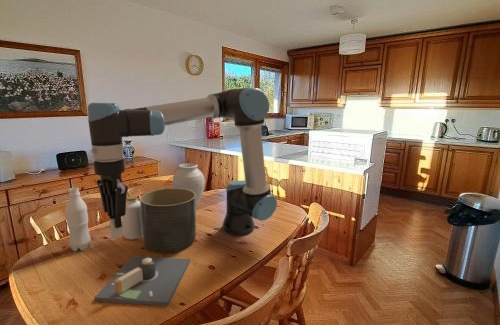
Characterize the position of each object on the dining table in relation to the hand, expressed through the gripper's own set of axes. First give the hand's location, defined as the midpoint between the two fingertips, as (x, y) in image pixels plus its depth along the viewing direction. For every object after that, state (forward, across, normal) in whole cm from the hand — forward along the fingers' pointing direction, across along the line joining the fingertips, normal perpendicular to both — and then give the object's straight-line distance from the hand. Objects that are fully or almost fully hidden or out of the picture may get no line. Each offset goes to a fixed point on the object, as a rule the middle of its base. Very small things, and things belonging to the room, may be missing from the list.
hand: (117, 236), depth 77 cm
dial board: (+18, +2, +8) cm, 20 cm away
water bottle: (+18, -36, +3) cm, 41 cm away
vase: (+19, -36, +59) cm, 72 cm away
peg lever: (+17, +2, +4) cm, 17 cm away
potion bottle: (+19, -29, +21) cm, 41 cm away
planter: (+19, -14, +29) cm, 37 cm away
